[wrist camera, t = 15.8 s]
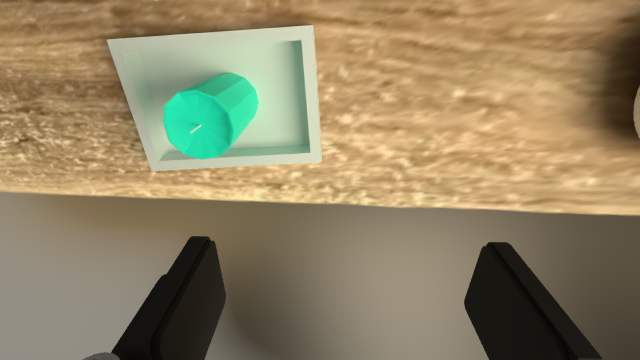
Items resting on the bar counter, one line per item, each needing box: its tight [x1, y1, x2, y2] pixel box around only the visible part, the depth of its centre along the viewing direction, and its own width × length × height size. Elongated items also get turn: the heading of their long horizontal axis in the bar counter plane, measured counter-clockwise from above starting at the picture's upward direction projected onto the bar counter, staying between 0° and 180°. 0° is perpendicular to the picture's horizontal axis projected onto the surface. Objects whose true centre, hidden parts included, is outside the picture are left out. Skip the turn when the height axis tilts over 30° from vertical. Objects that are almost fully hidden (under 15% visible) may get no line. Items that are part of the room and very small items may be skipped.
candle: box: [163, 73, 259, 160], centre depth 29 cm, size 6×6×12 cm
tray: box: [107, 25, 322, 171], centre depth 33 cm, size 14×20×4 cm
